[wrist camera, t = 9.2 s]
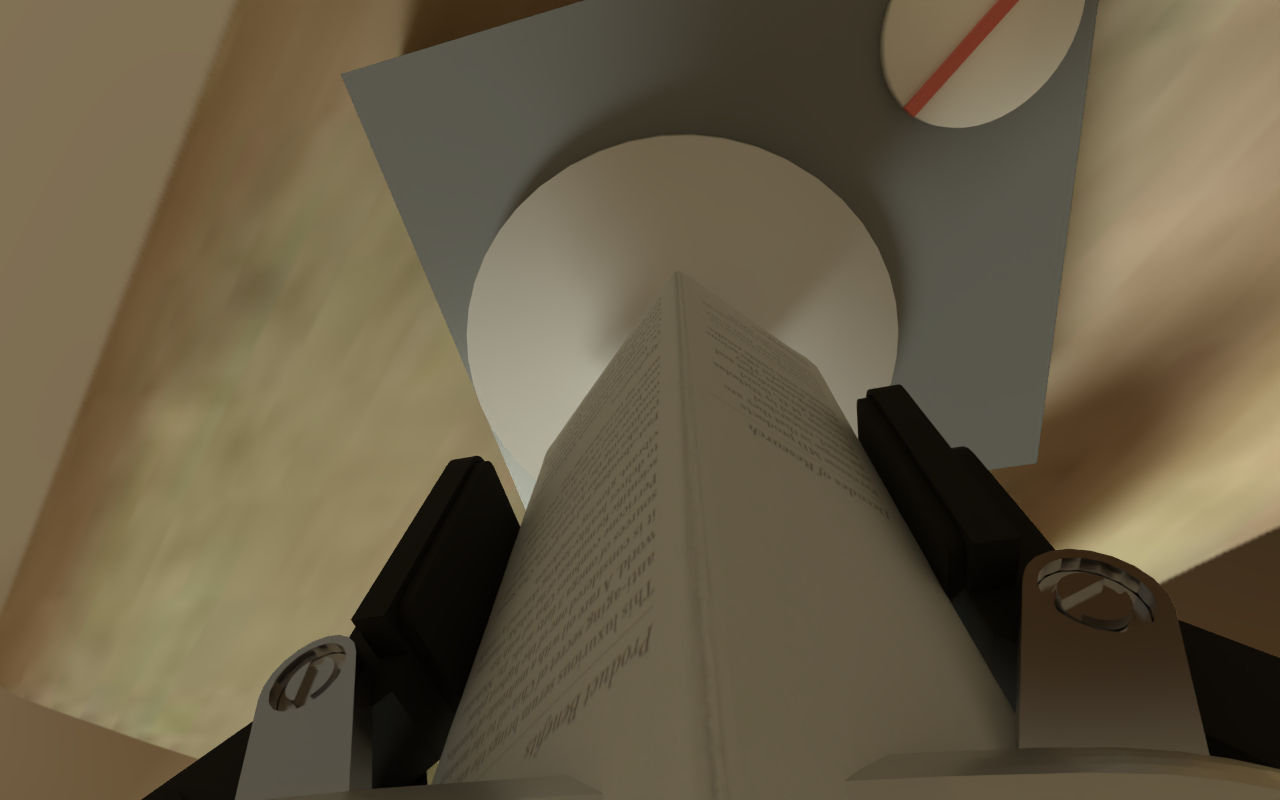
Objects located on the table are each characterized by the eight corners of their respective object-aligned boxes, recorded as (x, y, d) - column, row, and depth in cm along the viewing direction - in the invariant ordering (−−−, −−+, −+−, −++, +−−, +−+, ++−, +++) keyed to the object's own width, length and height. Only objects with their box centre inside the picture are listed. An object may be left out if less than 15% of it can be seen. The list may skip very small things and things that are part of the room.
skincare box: (677, 521, 15) (682, 1427, 5) (544, 447, 14) (197, 1383, 4) (828, 360, 13) (1539, 1571, 2) (679, 256, 12) (716, 1540, 1)
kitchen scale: (1031, -111, 13) (1160, -187, 10) (989, 415, 20) (1056, 482, 17) (396, 78, 16) (317, 72, 12) (552, 483, 23) (529, 553, 19)
